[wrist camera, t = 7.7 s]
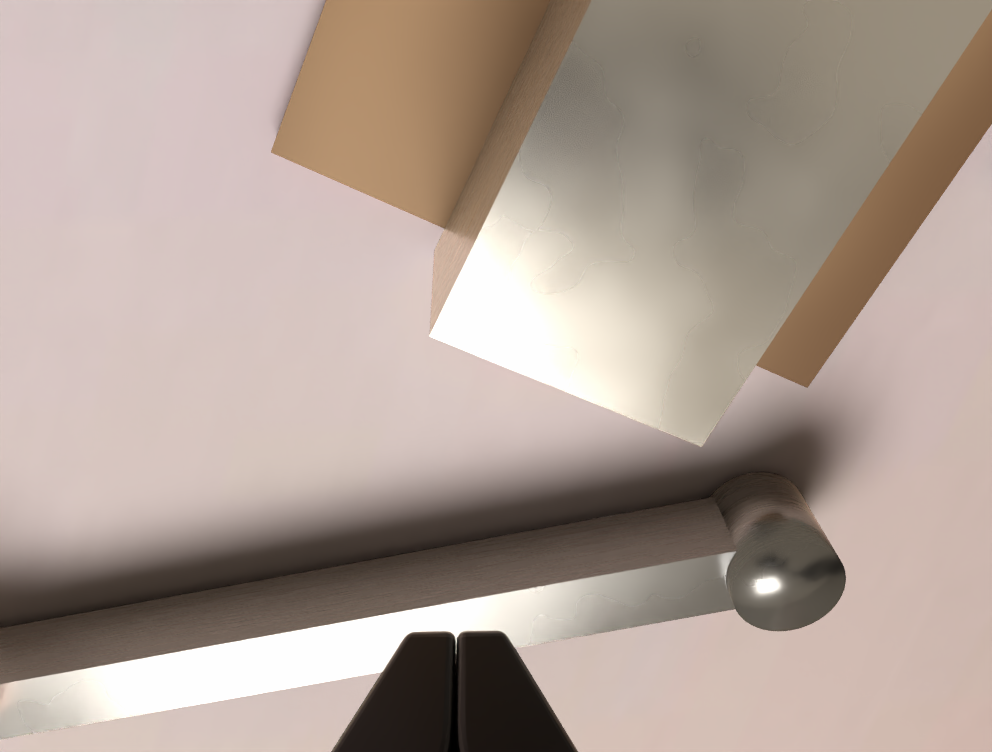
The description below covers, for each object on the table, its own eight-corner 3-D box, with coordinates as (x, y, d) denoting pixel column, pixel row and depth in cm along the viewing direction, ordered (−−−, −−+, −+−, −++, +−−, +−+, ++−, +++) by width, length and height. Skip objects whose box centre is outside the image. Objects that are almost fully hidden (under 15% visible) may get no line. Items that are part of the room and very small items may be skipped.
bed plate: (1154, -143, 16) (1178, -145, 15) (798, 375, 20) (807, 387, 20) (533, -559, 13) (537, -579, 12) (276, 144, 17) (270, 151, 17)
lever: (801, 463, 21) (864, 563, 18) (805, 545, 22) (865, 654, 19) (-76, 626, 22) (-166, 748, 19) (-31, 696, 23) (-108, 823, 20)
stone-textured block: (956, -155, 15) (1113, -175, 11) (654, 346, 19) (701, 447, 15) (698, -320, 14) (783, -399, 10) (434, 251, 18) (429, 336, 14)
